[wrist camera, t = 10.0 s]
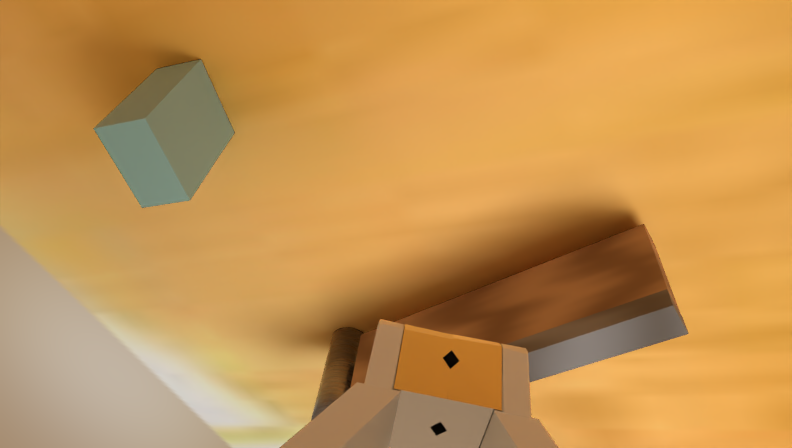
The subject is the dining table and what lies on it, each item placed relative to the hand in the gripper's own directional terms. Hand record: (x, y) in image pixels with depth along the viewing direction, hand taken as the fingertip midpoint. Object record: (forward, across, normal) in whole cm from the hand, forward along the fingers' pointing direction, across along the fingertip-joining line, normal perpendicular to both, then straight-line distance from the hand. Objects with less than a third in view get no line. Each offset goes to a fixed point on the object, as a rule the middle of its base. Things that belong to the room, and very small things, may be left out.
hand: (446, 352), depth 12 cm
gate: (+17, -4, +14) cm, 23 cm away
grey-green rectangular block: (+17, +13, +5) cm, 22 cm away
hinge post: (+18, +4, +21) cm, 28 cm away
